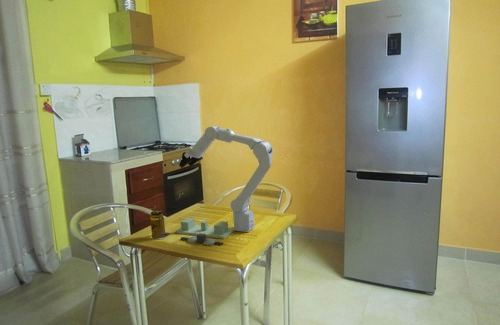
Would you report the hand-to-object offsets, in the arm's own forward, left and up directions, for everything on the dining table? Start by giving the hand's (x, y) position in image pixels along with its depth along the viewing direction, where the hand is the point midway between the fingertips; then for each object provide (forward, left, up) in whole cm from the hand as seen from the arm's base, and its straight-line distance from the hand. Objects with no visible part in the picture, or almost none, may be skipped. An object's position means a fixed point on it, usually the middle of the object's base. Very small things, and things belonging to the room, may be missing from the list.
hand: (185, 165), depth 163 cm
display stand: (-13, +7, -30) cm, 34 cm away
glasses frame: (-18, +18, -30) cm, 39 cm away
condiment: (+5, +17, -31) cm, 35 cm away
